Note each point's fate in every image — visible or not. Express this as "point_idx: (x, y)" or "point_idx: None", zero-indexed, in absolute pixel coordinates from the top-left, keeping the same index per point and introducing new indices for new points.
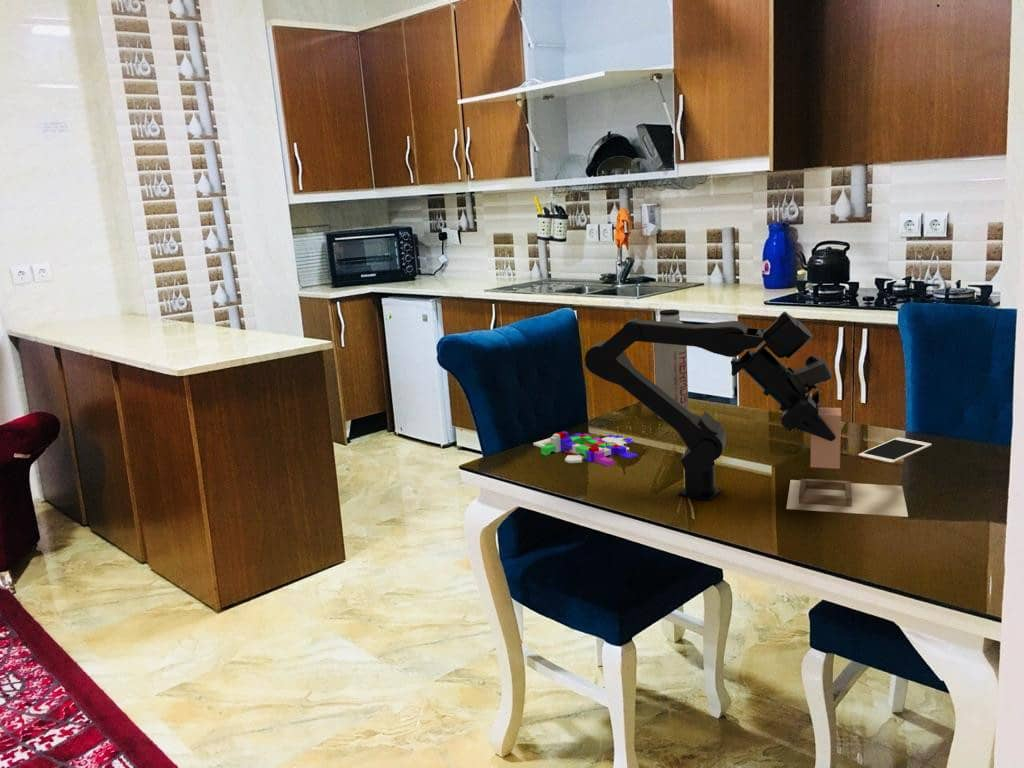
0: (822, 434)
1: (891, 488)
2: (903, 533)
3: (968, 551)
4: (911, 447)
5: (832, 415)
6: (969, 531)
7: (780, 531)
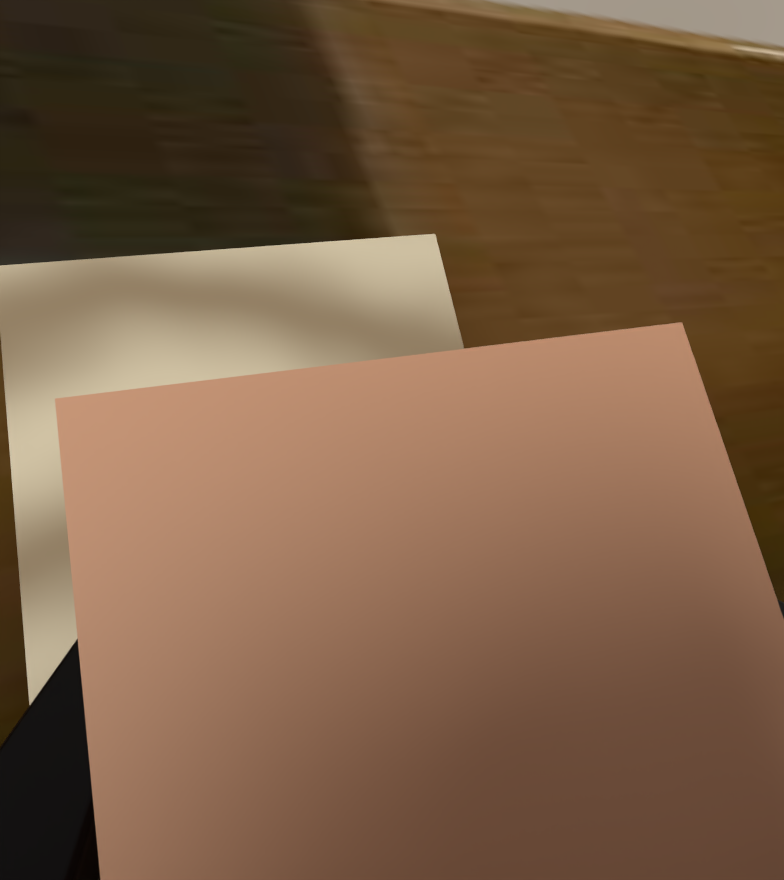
0: None
1: (58, 314)
2: (548, 262)
3: (599, 79)
4: None
5: (732, 483)
6: (428, 58)
7: None
